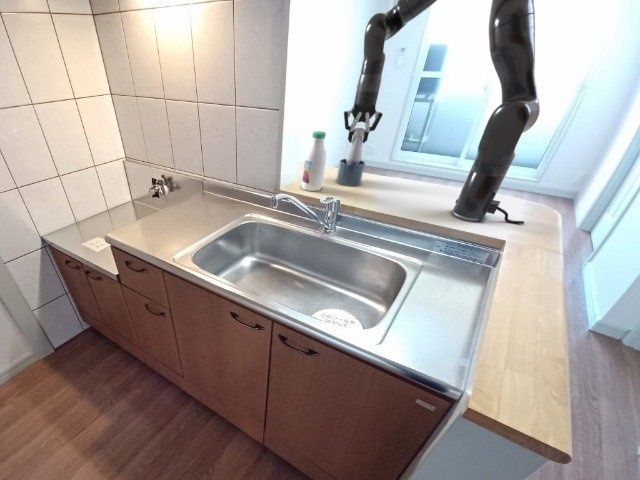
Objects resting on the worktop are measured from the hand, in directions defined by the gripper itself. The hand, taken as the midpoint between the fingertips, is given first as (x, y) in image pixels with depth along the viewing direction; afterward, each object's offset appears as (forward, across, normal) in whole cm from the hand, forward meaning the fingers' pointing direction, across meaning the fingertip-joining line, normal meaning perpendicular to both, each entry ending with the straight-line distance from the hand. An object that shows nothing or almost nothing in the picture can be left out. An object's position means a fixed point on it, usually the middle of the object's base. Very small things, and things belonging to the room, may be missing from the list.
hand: (356, 142), depth 123 cm
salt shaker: (+8, 0, 0) cm, 8 cm away
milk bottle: (+15, -15, -10) cm, 24 cm away
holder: (+15, 0, 0) cm, 15 cm away
